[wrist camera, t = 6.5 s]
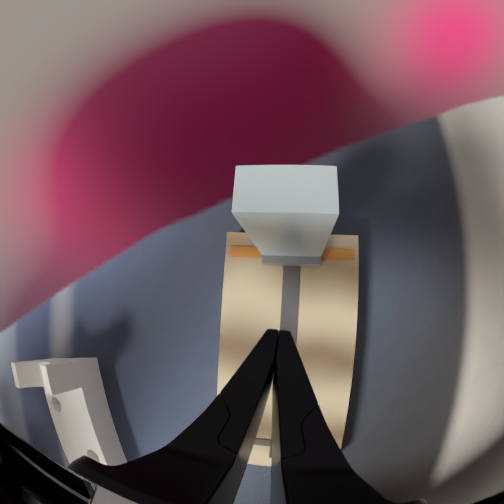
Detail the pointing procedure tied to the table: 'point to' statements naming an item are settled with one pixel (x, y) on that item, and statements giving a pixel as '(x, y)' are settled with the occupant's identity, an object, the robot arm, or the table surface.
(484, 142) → the table surface
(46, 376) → the bracket
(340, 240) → the slider board
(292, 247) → the fader tab
